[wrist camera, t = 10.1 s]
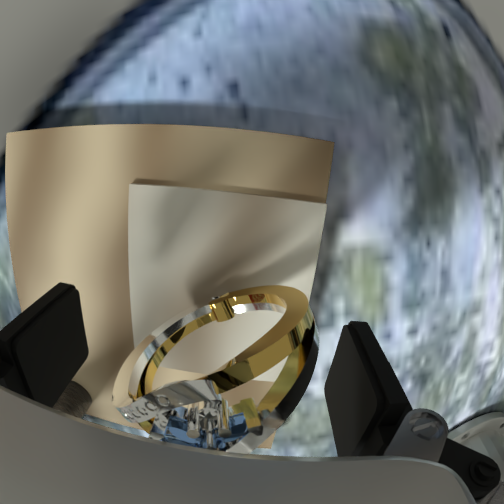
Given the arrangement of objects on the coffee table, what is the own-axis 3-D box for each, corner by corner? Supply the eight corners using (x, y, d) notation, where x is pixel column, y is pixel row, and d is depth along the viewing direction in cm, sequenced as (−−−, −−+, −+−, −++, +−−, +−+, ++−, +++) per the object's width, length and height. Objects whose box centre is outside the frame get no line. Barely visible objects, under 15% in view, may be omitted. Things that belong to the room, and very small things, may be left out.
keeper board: (326, 142, 13) (336, 142, 11) (270, 432, 19) (270, 452, 17) (24, 132, 13) (3, 133, 11) (58, 388, 18) (48, 403, 17)
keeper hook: (79, 350, 15) (-29, 512, 4) (95, 410, 17) (26, 552, 5) (47, 341, 15) (-63, 481, 4) (66, 400, 17) (-8, 529, 5)
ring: (290, 240, 12) (327, 372, 5) (312, 307, 13) (353, 461, 6) (140, 290, 13) (46, 416, 6) (170, 347, 14) (114, 485, 7)
